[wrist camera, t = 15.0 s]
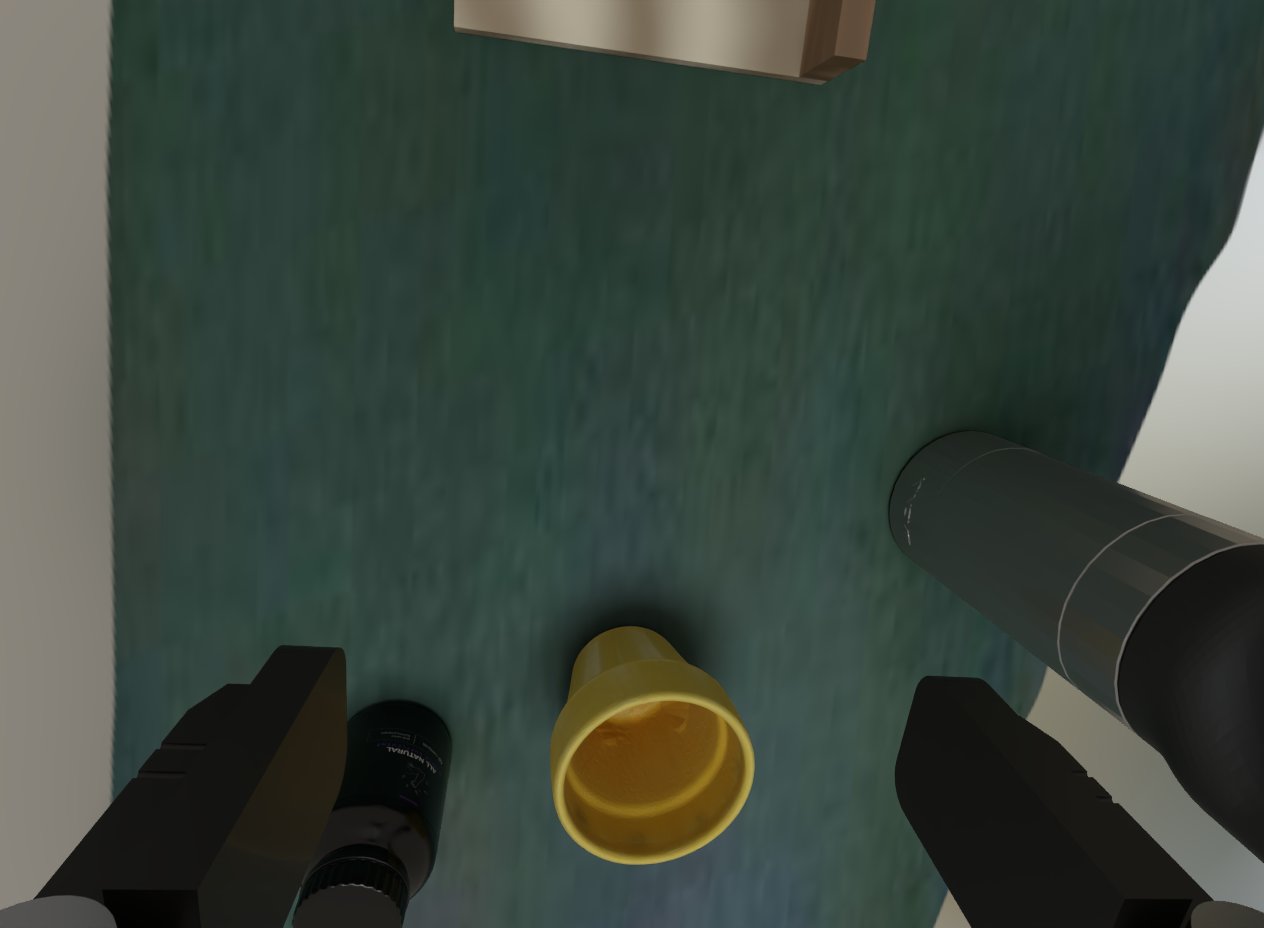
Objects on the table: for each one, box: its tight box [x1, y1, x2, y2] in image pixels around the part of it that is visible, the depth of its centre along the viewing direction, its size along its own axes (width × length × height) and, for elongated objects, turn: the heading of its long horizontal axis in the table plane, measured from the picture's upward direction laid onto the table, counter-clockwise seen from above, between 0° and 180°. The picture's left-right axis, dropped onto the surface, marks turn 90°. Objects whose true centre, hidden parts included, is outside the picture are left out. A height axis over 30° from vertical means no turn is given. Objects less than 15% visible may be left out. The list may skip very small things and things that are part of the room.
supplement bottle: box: [292, 703, 452, 928], centre depth 36 cm, size 7×7×12 cm
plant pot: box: [550, 626, 755, 864], centre depth 39 cm, size 10×10×10 cm
